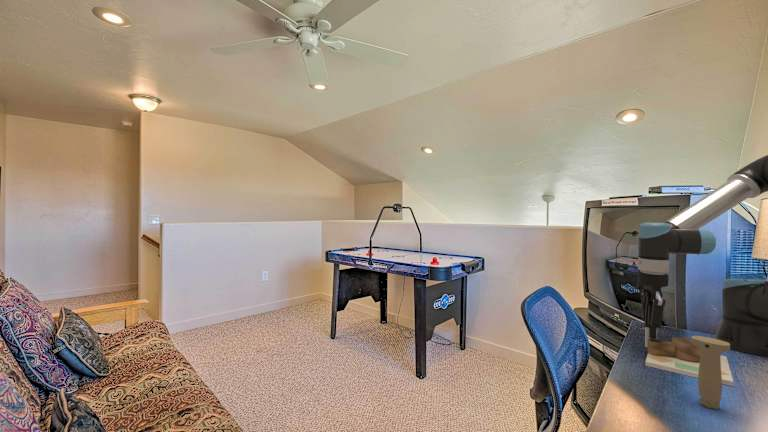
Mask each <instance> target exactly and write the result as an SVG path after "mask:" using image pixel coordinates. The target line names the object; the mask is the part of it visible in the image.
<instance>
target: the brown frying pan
mask: <svg viewBox="0 0 768 432" xmlns="http://www.w3.org/2000/svg"><path fill="white" fill-rule="evenodd" d="M648 352H649V353H650V354H653V355H662V356H671V357H677V358H680V359H683V360H687V361H693V362H700V348H699V347H697V346H696V345H694V344H693V343H692V338H687V337H682V336H674V337H671V341H667V340H663V339H658V338H657V339H650V340H648V348H647V353H648Z"/></svg>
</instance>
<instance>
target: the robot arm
mask: <svg viewBox="0 0 768 432" xmlns="http://www.w3.org/2000/svg"><path fill="white" fill-rule="evenodd" d="M767 192H768V154H767V155H764V156H761V157H760V158H757V159H756V160H754V161H752V162H750V163H748V164H747V165H745V166H743V167H742V168H741V169H739V170H737V171H735V172H734V173H733V174H730V175H729V176H728V177H727V180H726V182H725V183H723V184H722V185H720V186H718V187H717V188H715V189H714V190H712V191H711V192H709V193H707V194H705V196H703V197H701V198H700V199H698V200H697V201H695V202H693V203H692V204H690V205H689V206H687V207H686V208H684V209H683V210H681V211H680V212H678V213H676V214H675V215H673V216H672V217H670V218H669V219H667V220H665V221H664V222H646V221H645V222H642V223H640V225H639V229H638V235H637V237H638V259H637V260H636V261H635V262H636V264H637V265H638V266H637V268H638V269H637V270H639V271H638V272H637V283H638V284H640V285H642V286H643V289H640V292H639V293H640V298H641V311H642V312H641V313H642V314H641V315H642V321H643V322H644V327H645V328H644V329H645V330H644V331H645V332H644V334H645V335H644V347H645V348H647V349H648V340H650V339H658V329H661V328H662V322H663V316H664V315H663V314H664V309H665V305H666V299H664V298H663V292H662V288H667V287H668V286H669V274H668V273H670V255H671V254H673V255H674V254H678V255H679V254H681V255H698V256H699V255H709V254H711V253H712V252H713V251H714V250H715V249H716V247H717V239H716V236H715V235H714V233H713V232H711V231H710V230H706V229H701V228H702V227H704V226H706V225H708V224H709V223H711V222H713V220H715V219H717V218H719V217H721V216H722V215H723V214H725V213H727V212H728V211H730V210H732V209H734V207H736V206H738V205H739V204H741V203H742V202H744V201H745V200H747V199H754V198H756V197H758V196H761V195H762V194H763V193H764V194H765V193H767ZM721 291H722V293H721V295H722V321H721V323H720V325H719V327H718V329H717V331H716V333H715V337H714V339H718V340H721V341H725V342H728V343H730V350H734V351H738V352H741V353H746V354H751V355H757V356H766V357H767V356H768V278H765V279H757V278H756V279H755V278H754V279H753V278H752V279H750V278H726V279H724V281H723V284H722V289H721Z"/></svg>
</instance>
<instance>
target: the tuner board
mask: <svg viewBox="0 0 768 432" xmlns="http://www.w3.org/2000/svg"><path fill="white" fill-rule="evenodd" d="M720 361H721V377H722V385H727V386H730V387H734V379H733V375H732V372H731V368H730V365H729V362H728V357H727V356H726V355H722V354H721V356H720ZM644 363H645V367H649V368H655V369H659V370H662V371H668V372H671V373H676V374H679V375H684V376H688V377H692V378H697V379H698V373H699V364H700V362H693V361H687V360H683V359H680V358H677V357H671V356H662V355H653V354H650V353H649V352H648V351H647V355H646V358H645V362H644Z"/></svg>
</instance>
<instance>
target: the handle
mask: <svg viewBox="0 0 768 432" xmlns="http://www.w3.org/2000/svg"><path fill="white" fill-rule="evenodd" d="M691 339H692V343H693V344H694V345H696V346H697V347H699V348H700V364H699V373H698V378H697V386H698V394H699V403H700V405H702V406H704V407H705V408H708V409H714V410H718V409H719V408H720V405H721V400H722V395H723V394H722V393H723V384H722V377H721V361H720V356H721V355H722V353H725V352H729V351H730V350H731V349H730V343H728V342H725V341H721V340H718V339H715V338H712V337H707V336H702V335H701V336H700V335H692V336H691Z"/></svg>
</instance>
